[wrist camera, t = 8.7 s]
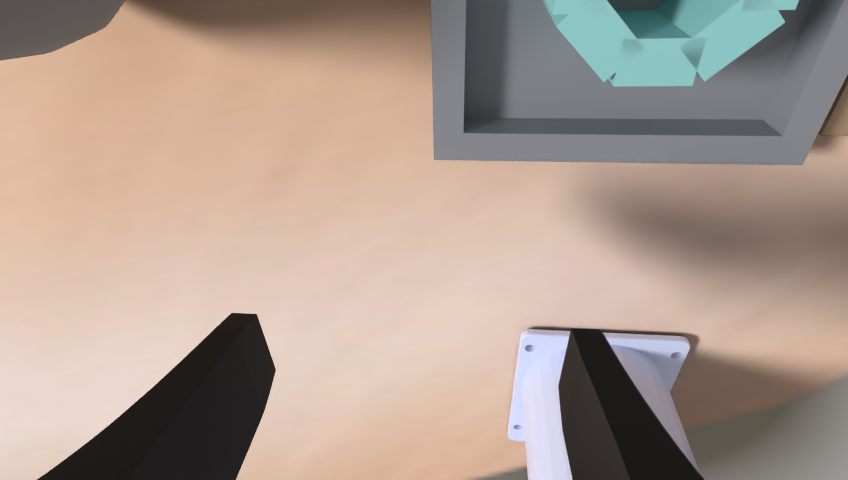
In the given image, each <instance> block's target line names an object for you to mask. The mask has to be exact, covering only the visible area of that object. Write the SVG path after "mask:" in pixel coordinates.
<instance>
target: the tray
mask: <svg viewBox="0 0 848 480" xmlns="http://www.w3.org/2000/svg"><path fill="white" fill-rule="evenodd" d="M607 1H608V2H609V4H610V5H611V6H612V7H613V9H614V10H615V11H617V10H655V9H656V8H657V7H658V6H660V5H661V4H662V3H663V2H664V1H665V0H607ZM778 11H779V13H780V14H781V16H782V18H783V19H784V21H785V23H784V24H782V25H781V26H780V27H778V28H777V29H776V30H774V31H773V32H771V33H770V34H769V35H767V36H766V37H765V38H763V39H762V40H761V41H759V42H758V43H757V44H755V45H754V46H752V47H751V48H750V49H748V50H747V51H746V52H744V53H743V54H742V55H740V56H739V57H737V58H736V59H735V60H733V61H732V62H731V63H729V64H728V65H727V66H725V67H724V68H723V69H721V70H720V71H718V72H717V73H716V74H714V75H713V76H712V77H710V78H709V79H708V80H706V81H703V80H702V79H701V78H700V77H699V76H698V75H697V74H696V76H695V79H694V82H693V86H619V87H614V86H613V85H612V83H611V82H610V80H609V79H607V80H606V81H605V82H603V81H602V80H601V79H600V77H599V76H598V75H597V74H596V73H595V72H594V70H593V69H592V68H591V67H590V66H589V65H588V63H587V62H586V61H585V60H584V59H583V57H582V56H581V55H580V54H579V53H578V52H577V50H576V49H575V48H574V47H573V46H572V45H571V43H570V42H569V41H568V40H567V39H566V38H565V36H564V35H563V34H562V33H561V32H560V30H559V29H558V28H557V27H556V25H555V23H554V22H553V20H552V18H551V16H550V14H549V12H548V10H547V8H546V6H545V4H544V2H543V1H542V0H431V33H432V82H433V131H434V160H481V161H550V162H620V163H689V164H758V165H803V163H804V161H805V159H806V157H807V155H808V153H809V151H810V149H811V147H812V145H813V143H814V141H815V139H816V137H817V135H818V133H819V131H820V129H821V127H822V125H823V123H824V121H825V119H826V117H827V115H828V113H829V111H830V109H831V107H832V105H833V103H834V101H835V99H836V97H837V95H838V93H839V91H840V89H841V87H842V85H843V83H844V81H845V79H846V77H847V75H848V0H799V2H798V4H797V7H796V9H795V10H778Z"/></svg>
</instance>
